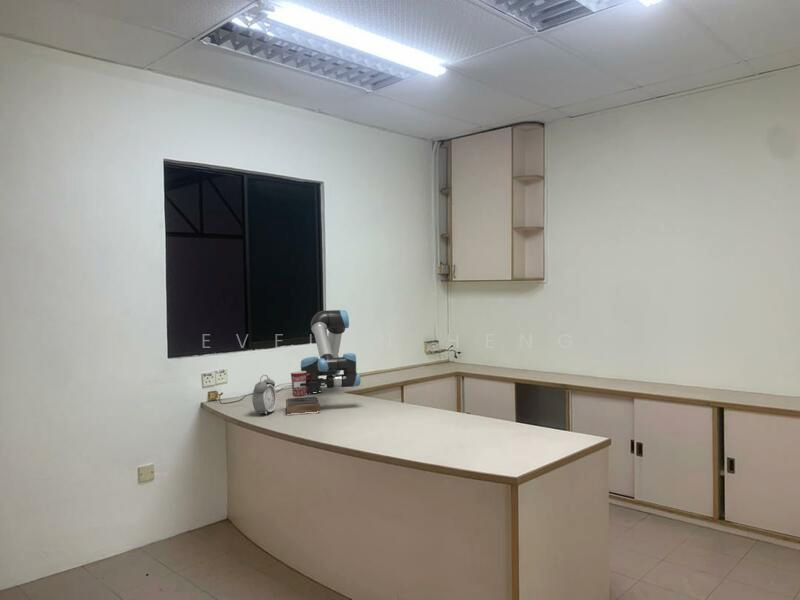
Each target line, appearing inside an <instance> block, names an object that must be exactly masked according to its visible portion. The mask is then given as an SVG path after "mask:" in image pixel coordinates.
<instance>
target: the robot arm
mask: <svg viewBox="0 0 800 600" xmlns="http://www.w3.org/2000/svg"><path fill="white" fill-rule="evenodd" d="M349 319H350V317H349V315H348V312H347V310H345V309H344V310H343V309H338V310H337V309H335V310H334V309H333V310H332V309H331V310H330V309H329V310H320V311H318V312H316V313H315V315H314V316H312V318H311V321H310V330H311V332H312V333H313V335H314V338H315V343H316V346H317V351H318V356H311V357H310V356H309V357H305V358H302V359H301V361H300V371H306V374H311V375H312V382H310V376H309V375H308V376H307V378H306V382H294V387H309V388H308V389H307V391H306V393H313V392H319V391H321V392H322V387H325V386H326V388H327V389H333V388H337V389H340V388H353V387H359V386H361V374H360V373H358V372H357V356H356V353H351V352H348V353H347V352H345V353H343V355H342V356H339V353H340V348H341V347H340V346H341V340H342V336H343V335H342V334H343V333H345V331H346V329H348V328H349V327H350V320H349ZM327 331H328V333H327ZM341 371H343V373H342V374H340V373H341ZM323 376H324V377H326V378H323Z"/></svg>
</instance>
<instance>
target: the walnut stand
mask: <svg viewBox="0 0 800 600" xmlns="http://www.w3.org/2000/svg"><path fill="white" fill-rule="evenodd" d="M320 406H321V403H320V401H319V399H318V397H316V396H307V397H306V396H305V397H292V398H286V400H285V408H286V409H287V411H286V415H287V414H291V413H305V412H317V411H320V412H321V407H320ZM286 409H285V410H286Z"/></svg>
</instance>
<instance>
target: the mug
mask: <svg viewBox="0 0 800 600" xmlns="http://www.w3.org/2000/svg"><path fill="white" fill-rule="evenodd" d="M308 375H309V376H310V382H312V375H311V374H306V371H301V370H296V371H291V372H290V378H291V389H292V391H291V392H292V397H293V398H302V397H304V396H305V397H306V395H307V394H306V391H307V389H308V388H309V387H294V382H306V378H307V376H308Z"/></svg>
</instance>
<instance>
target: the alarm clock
mask: <svg viewBox="0 0 800 600" xmlns="http://www.w3.org/2000/svg"><path fill="white" fill-rule="evenodd" d="M265 376H266V379H263V381H262V378H263V377H265ZM275 386H276V383H275V381H274V380H273V379H271V378H270V377H269V376H268V375H267V374H263V375H261V377H260V379H259V382H257V383H256V384H255V385H254V388H253V391H252V396H251V397H252V398H251V399H252V406H253V410H254V411H255V412H256V413H260V414H261V412H262V413H264V414H266V415H267V413H271V412H272V411H273V412H274V410H275V408H276V405H277V392H276V391H277V390H276V388H275ZM273 412H272V413H273Z"/></svg>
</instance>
